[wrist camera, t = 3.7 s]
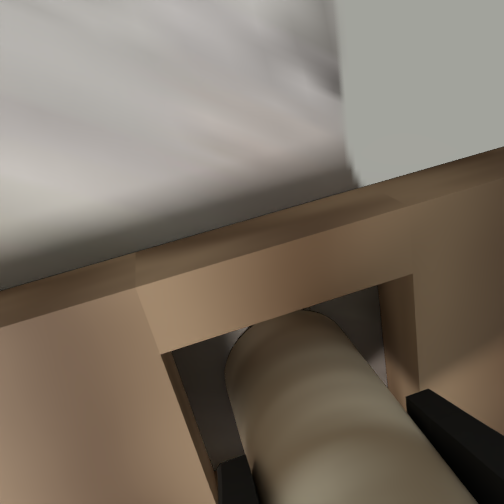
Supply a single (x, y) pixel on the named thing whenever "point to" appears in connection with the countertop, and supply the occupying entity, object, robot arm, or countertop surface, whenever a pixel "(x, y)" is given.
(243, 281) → the wooden board with cutouts
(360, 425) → the birch axle
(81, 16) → the countertop surface
